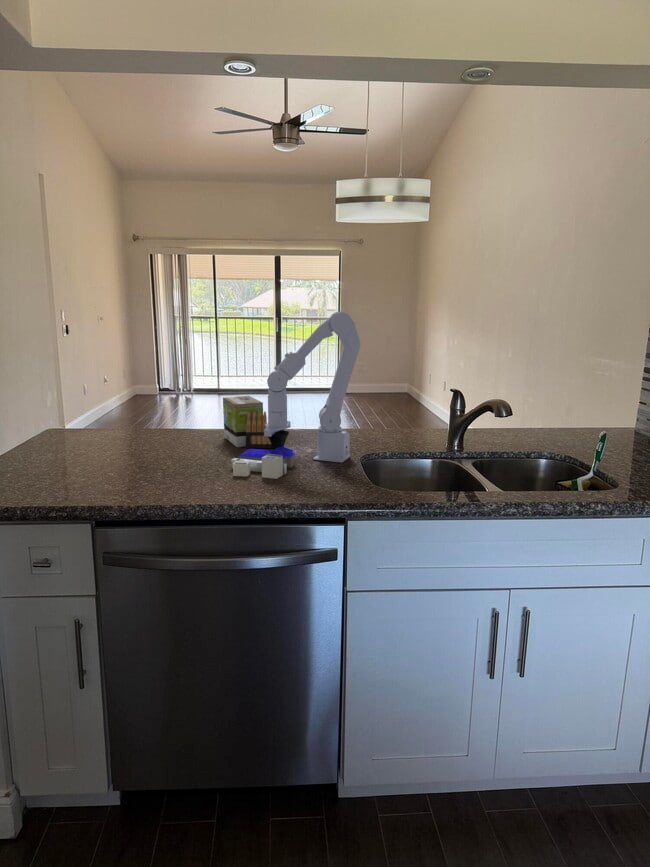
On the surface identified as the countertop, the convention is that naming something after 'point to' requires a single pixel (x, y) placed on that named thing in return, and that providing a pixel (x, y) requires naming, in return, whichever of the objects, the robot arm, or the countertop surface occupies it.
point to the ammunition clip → (256, 432)
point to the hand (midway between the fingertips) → (278, 454)
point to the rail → (257, 465)
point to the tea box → (239, 417)
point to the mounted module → (272, 466)
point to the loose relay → (241, 468)
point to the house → (259, 453)
